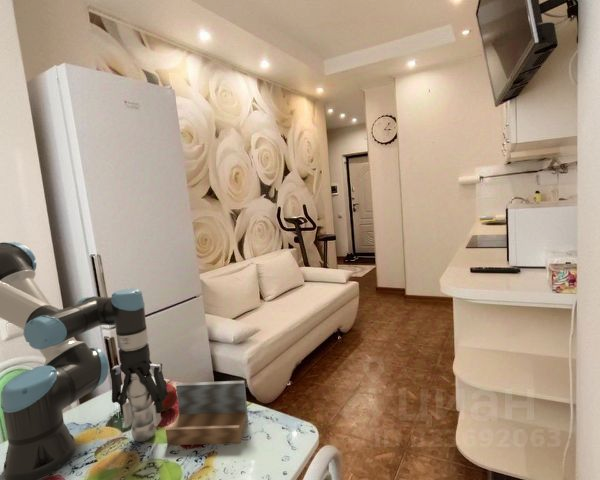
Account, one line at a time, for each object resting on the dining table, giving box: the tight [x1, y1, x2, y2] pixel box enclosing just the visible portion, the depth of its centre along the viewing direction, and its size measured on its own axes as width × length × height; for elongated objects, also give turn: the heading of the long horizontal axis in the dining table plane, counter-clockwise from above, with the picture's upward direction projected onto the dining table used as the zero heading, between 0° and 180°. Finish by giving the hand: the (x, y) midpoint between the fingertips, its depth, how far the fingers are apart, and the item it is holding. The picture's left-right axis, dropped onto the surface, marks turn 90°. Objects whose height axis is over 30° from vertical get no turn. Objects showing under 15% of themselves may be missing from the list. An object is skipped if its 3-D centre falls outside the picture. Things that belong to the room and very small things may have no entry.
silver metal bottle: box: [126, 373, 157, 443], centre depth 97 cm, size 6×7×20 cm
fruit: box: [151, 379, 178, 412], centre depth 111 cm, size 8×8×10 cm
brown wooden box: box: [165, 380, 249, 446], centre depth 98 cm, size 20×10×12 cm, turn 87°
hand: (143, 423), depth 98 cm, fingers open, 8 cm apart
